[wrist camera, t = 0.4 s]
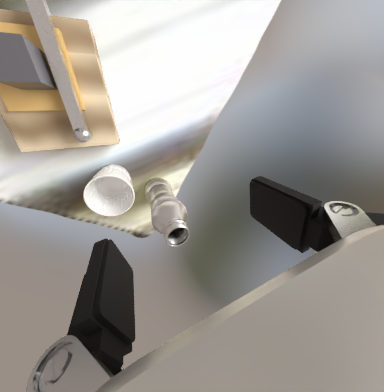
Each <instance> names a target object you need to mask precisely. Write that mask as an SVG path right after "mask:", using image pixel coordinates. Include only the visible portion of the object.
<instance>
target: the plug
mask: <svg viewBox="0 0 384 392" xmlns="http://www.w3.org/2000/svg"><path fill="white" fill-rule="evenodd" d="M55 29H56V32H57V36H58V39H59V42H60V45H61V48H62V51H63V54H64V57H65V60H66V63H67V66H68V69H69V72H70V75H71V78H72V82H73V85H74V88H75V91H76V94H77V97H78V100H79V103H80V106H81V109H82V110H86V109H85V106H84V102H83V99H82V96H81V93H80V90H79V87H78V83H77V80H76V77H75V74H74V71H73V68H72V64H71V61H70V58H69V55H68V52H67V49H66V45H65V42H64V39H63V36H62V33H61V31H60V30H59V28H55ZM0 95H1V97H2V99H3V101H4V103H5V105H6V107H7V108H8V110H9V111H10V112H25V111H66V109H65V106H64V103H63V101H62V98H61V95H60V93H59V90H58V87H57V84H56V82H55V79H54V76H53V74H52V71H51V68H50V65H49V63H48V60H47V57H46V54H45V52H44V49H43V46H42V44H41V41H40V38H39V35H38V33H37V30H36V27H35V26H32V25H23V24H14V23H5V22H0Z"/></svg>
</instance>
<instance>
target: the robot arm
mask: <svg viewBox="0 0 384 392" xmlns="http://www.w3.org/2000/svg"><path fill="white" fill-rule="evenodd" d="M321 203H322V201H319V200H317V199H315V198H312V197H310V196H307V195H305V194H302V193H300V192H297V191H295V190H293V189H290V188H288V187H286V186H283V185H281V184H278V183H276V182H273V181H271V180H269V179H266V178H264V177H261V176H259V177H256V178H254V179H252V180H251V182H250V213H251V215H252V217H253V218H254V219H256V220H257V221H258V222H260V223H261V224H262V225H264V226H265V227H266V228H267V229H269V230H270V231H271V232H273V233H274V234H275V235H277V236H278V237H279V238H280V239H282V240H283V241H284V242H286V243H287V244H288V245H290V246H291V247H292V248H294V249H297V250H299V251H300V252H301V253H303V252H305V251H307V250H309V247H311V248H312V249H313V250H314V253H315V254H314V255H312V256H311V257H309V258H307V259H306V260H304V261H302V262H300V263H299V264H297V265H296V266H294V267H292V268H291V269H288V270H287V271H285V272H283V273H282V274H280V275H278V276H276V277H275V278H273V279H271V280H270V281H268V282H266V283H265V284H263V285H261V286H260V287H258V288H256V289H255V290H253V291H251V292H249V293H248V294H246V295H244V296H243V297H241V298H240V299H238V300H236V301H234V302H233V303H231V304H229V305H228V306H226V307H224V308H222V309H221V310H219V311H217V312H216V313H214V314H212V315H211V316H209V317H207V318H206V319H204V320H202V321H201V322H199V323H197V324H196V325H194V326H192V327H191V328H189V329H187V330H186V331H184V332H182V333H181V334H179V335H177V336H176V337H174V338H172V339H171V340H169V341H168V342H166V343H164V344H163V345H161V346H160V347H158V348H156V349H155V350H153V351H152V352H150V353H148V354H147V355H145V356H144V357H142V358H140V359H139V360H137V361H136V362H134V363H133V364H131V365H130V366H128V367H127V368H125V369H124V368H123V367H122V365H123V356H124V355H126V354H128V353H130V352H131V351H132V342H134V340H135V315H134V286H133V271H132V268H131V267H130V265H129V264H128V262H127V261H126V259H125V258H124V257H123V255H122V254H121V252H120V251H119V249H118V248H117V247H116V245H115V244H114V242H113V241H112V240H108V239H104V240H101V241H99V242H96V243H95V244H94V247H93V250H92V254H91V258H90V261H89V265H88V268H87V272H86V274H85V275H84V278H83V281H82V285H81V288H80V292H79V295H78V299H77V302H76V306H75V309H74V313H73V316H72V320H71V324H70V327H69V330H68V334H67V336H65V337H62V338H60V339H59V340H57V341H56V342H55V343H54V344H52V345H51V346H50V347H49V348H48V349H47V350H46V351H45V353H44V354H43V355H42V356H41V358H40V359H39V360H38V362H37V363H36V365H35V367H34V368H33V370H32V372H31V375H30V377H29V379H28V383H27V387H26V392H384V214H380V213H365V212H364V211H363V210H362V209H361V208H359V207H358V206H356V205H353V204H351V203H347V202H343V201H332V202H328V203H326V204H325V206H324V207H321Z"/></svg>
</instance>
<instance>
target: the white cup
mask: <svg viewBox="0 0 384 392" xmlns="http://www.w3.org/2000/svg"><path fill="white" fill-rule="evenodd" d="M83 197H84V201H85V203H86V205H87V206H88V207H89V208H90V209H91V210H92V211H93V212H95V213H97V214H99V215H103V216H117V215H120V214H123V213H125V212H126V211H128V210H129V209H130V208H131V206H132V205H133V203H134V199H135V194H134V189H133V184H132V180H131V178H130V175H129V173H128V172H127V170H126V169H125V168H123V167H121V166H119V165H108V166H105V167H103V168H102V169H101V170H100V171H98V172H97V173H96V175H94V177H93V178H92V179H91V180H90V182H89V183H88V184H87V185H86V187H85V189H84V193H83Z"/></svg>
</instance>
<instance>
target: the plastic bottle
mask: <svg viewBox="0 0 384 392" xmlns="http://www.w3.org/2000/svg"><path fill="white" fill-rule="evenodd" d="M144 194H145V197H146V199H147V201H148V202H149V203H150V205H151V220H152V225H153V227H154V228H155V229H156V230H157V231H158V232H160V233H161V234H164V237H165V239H166V242H167V243H168V244H169V245H170V246H173V247H176V246H180V245H182V244H184V243H185V242H186V241H187V240H188V238H189V230H188V228H187V225H186V222H187V217H188V216H187V210H186V207H185V206H184V205H183V204H182V203H181V202H180V201H179V200H178V199H176V197H175V196H174V195H173V193H172V188H171V186H170V184H169V183H168V182H167V181H166V180H164V179H162V178H154V179H152V180H150V181H149V182H148V183H147V185H146V187H145V191H144Z"/></svg>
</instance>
